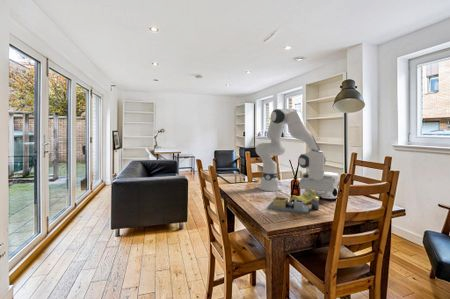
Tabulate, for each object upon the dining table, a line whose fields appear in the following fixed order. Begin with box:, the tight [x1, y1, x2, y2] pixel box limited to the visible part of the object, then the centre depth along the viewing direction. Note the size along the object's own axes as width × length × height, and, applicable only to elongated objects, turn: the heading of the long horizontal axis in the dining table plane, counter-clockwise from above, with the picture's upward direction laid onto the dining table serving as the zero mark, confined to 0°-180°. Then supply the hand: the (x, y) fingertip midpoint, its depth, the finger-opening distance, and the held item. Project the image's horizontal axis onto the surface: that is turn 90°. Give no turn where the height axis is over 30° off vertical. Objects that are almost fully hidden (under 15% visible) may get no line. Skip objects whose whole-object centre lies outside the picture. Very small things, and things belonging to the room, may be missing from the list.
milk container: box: [313, 171, 340, 200], centre depth 178 cm, size 17×17×18 cm
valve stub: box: [310, 196, 320, 211], centre depth 152 cm, size 4×4×8 cm
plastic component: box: [288, 190, 316, 206], centre depth 168 cm, size 20×7×10 cm
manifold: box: [267, 196, 311, 215], centre depth 153 cm, size 12×24×6 cm, turn 65°
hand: (315, 197), depth 152 cm, fingers open, 8 cm apart
